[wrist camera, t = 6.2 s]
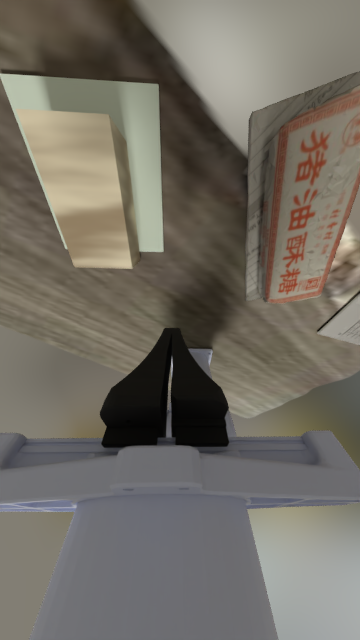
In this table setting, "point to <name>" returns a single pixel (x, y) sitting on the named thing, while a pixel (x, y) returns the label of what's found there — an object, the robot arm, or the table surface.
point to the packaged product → (300, 189)
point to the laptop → (345, 323)
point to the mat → (130, 118)
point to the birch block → (86, 184)
